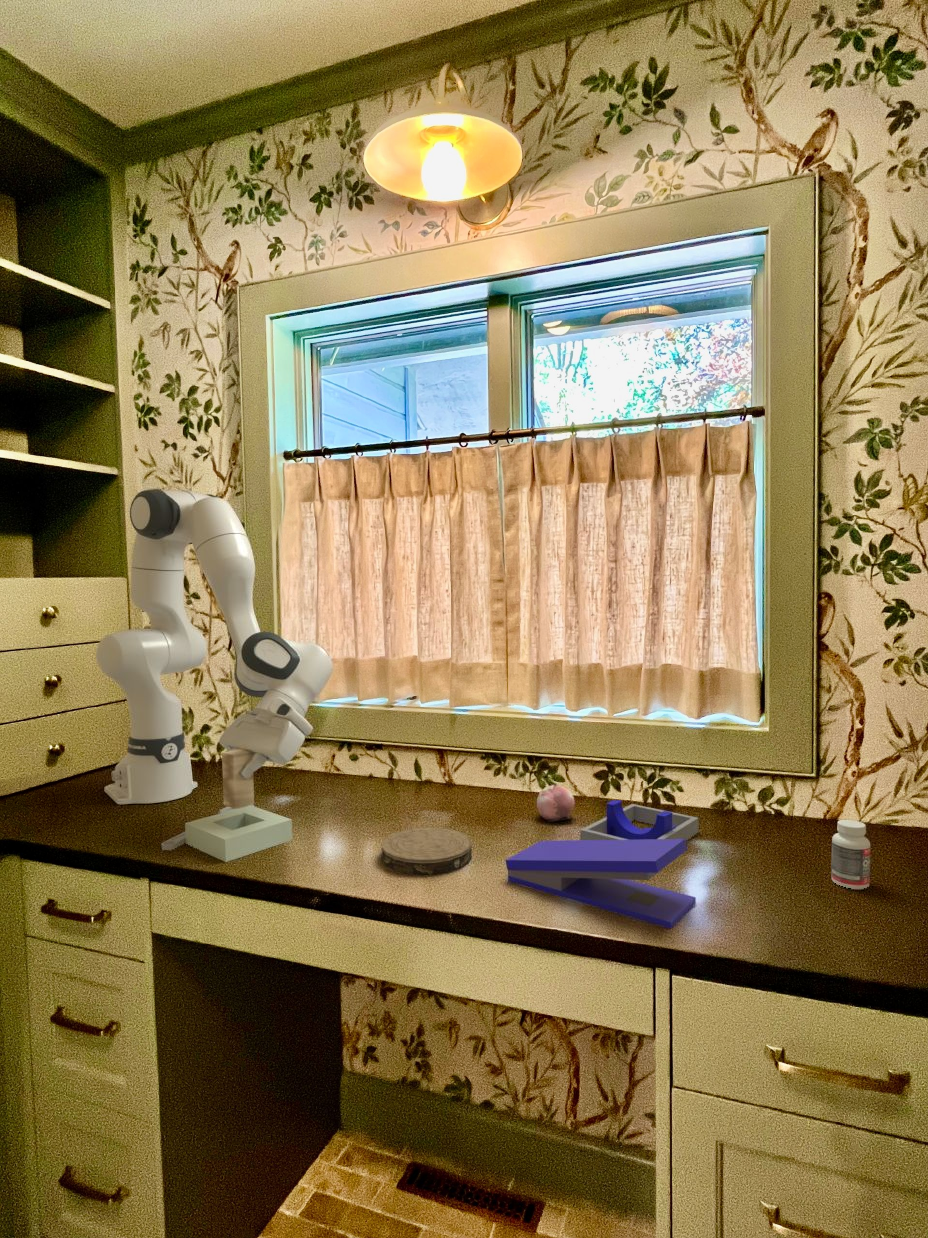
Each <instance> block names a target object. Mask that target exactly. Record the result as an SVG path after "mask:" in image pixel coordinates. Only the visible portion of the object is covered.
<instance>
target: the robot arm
mask: <svg viewBox="0 0 928 1238" xmlns="http://www.w3.org/2000/svg"><path fill="white" fill-rule="evenodd" d="M131 501H132V502H131V503H130V508H129V519H130V522H131V525H132V527H133V529H134V531H135V532H136V533H135V538H134V543H133V549H132V554H131V555H132V556H131V567H130V569H131V570H130V573H131V574H130V592H129V594H130V599H131V602H132V604H133V605H134V606H135V607H136V608H137V609H139V610H140V611H142V612H144V613H146V614H147V615H148V618H149V622H150V626H149V627H150V628H138V629H137V628H136V629H134V628H133V629H125V630H121V631H120V630H119V631H118V632H117V631H116V632H113V633H110V634H107V635H105V636H103V637H102V639H100V641H99V643H98V645H97V648H96V650H95V651H96V652H95V658H96V663H97V666H98V667H99V669H100V670H101V672H102V673H103V674H104V675H105V676H107V677H108V678H110V679H111V680H113V682H115V683H116V684H117V685H118V686H119V688H120V689H121V691H122V692H123V694H124V696H125V698H126V701H127V705H128V712H129V725H130V736H129V737H127V739H128V740H127V748H126V752H127V753H126V754H125V756H124V757H122V759H121V760H120V761H119V762H118V763H117V764H116V765H115V766H114V767H115V768H114V770H112V771H111V775H110V776H111V781H114V783H110V784H108V785H106V786H104V792H105V793H106V794H107V795H108V796H109V797H110V798H111V799H112V800H113V801H114V802H115V803H116V804H117V805H128V804H129V805H130V804H155V803H165V802H170V801H173V800H178V799H180V798H184V797H186V796H188V795H190V794H191V793H192V791H193V790H194V789H195V788H197V787H199V786H198V782H197V781H193V771H192V764H191V762H192V761H191V755H190V753H188V751H186V750H185V748H186V737H185V732H184V731H183V705H182V702H181V700H180V698H179V697H178V696H177V695H176V694H175V693H173V692H171V691H168V690H166V689H165V688H164V686H163V684H162V680H161V675H163V676H164V675H170V674H177V673H184V672H187V671H189V670H192V669H194V668H197V667H200V666H201V665H202V664H203V663H204V662H205V660H206V657H207V653H208V644H207V640H206V638H205V636H204V635H203V633H202V632H201V631H200V630H199V629H197V628H196V627H195V626H194V625H193V624H192V622H191V620H190V619H189V616H188V614H187V611H186V608H185V600H184V576H185V574H184V573H185V550H186V548H187V547H188V545H189V544H192V547H193V550H194V553H195V555H196V558H197V561H198V564H199V566H200V569H201V570H202V572H203V574H204V577H205V579H206V581H207V583H208V585H209V587H210V589H211V591H212V593H213V595H214V598H215V600H216V602H217V605H218V606H219V608H220V610H221V613H222V616H223V618H224V622H225V625H226V628H227V631H228V634H229V637H230V640H231V643H232V646H233V649H234V653H235V665H234V680H235V684H236V685H237V688H238V689H239V690H240V691H241V692H243V693H244V694H246V695H248V696H250V697H252V698H253V697H254V698H261V699H260V701H259V702H258V703H257V705H256V706H255V707H254V708H253V709H252V710H249V711H248V712H247V713H242V714H240V715H238V716H237V717H236V718H235V719H234V720H233V722H231V723H230V725H229V726H228V727H227V728H226V729H225V731H223V733H222V734H221V736H220V737H219V742H218V743H219V744H220V746H222V747H223V748H224V749H226V751H231V750H236V749H244V750H248V751H252V752H253V757H252V758H253V760H252V761H250V762H249V763H248V764H247V765H246V766H245V765H243V767H242V768H241V770H240V771H239V774H240V775H241V776H242V777H244V778H247V779H249V778H250V776H251V775H252V774H253V775H254V772H256V771H258V769H260V768H261V767H263V766H264V764H265V763H267V762H270V763H273V764H274V763H275V764H278V765H281V766H284V765H286V764H287V763H290V761H292V759H293V758H294V757H295V756H296V754H297V752H298V751H299V749H300V748H301V747H302V745H304V742H305V739H306V737H308V736H309V735H311V733H312V732H313V730H314V727H313V725H311V724H310V722H309V721H308V720H307V719H306V718H305V716H306V714H307V712H308V709H309V706H310V705H311V704H312V703H313V702H314V701H315V700H316V699H317V698H318V697H319V695H320V694H321V693H322V691H323V690H324V688H325V687H326V685H327V683H328V681H329V679H330V678H331V677H332V673H333V670H334V664H333V660H332V658H331V656H330V655H329V654H328V652H327V650H325V649H324V648H323V647H322V646H320V645H319V644H317V643H315V642H312V641H309V642H300V641H295V640H290V639H287V638H283V637H281V636H280V635H278V634H277V633H274V632H271V631H261V629H260V626H259V623H258V620H257V617H256V614H255V609H254V603H253V602H254V601H253V593H254V584H255V575H256V564H255V558H254V553H253V552H254V551H253V550H252V549H253V548H252V545H251V543H250V540H249V537H248V535H247V532H246V530H245V528H244V526H243V524H242V522H241V520H240V519H239V517H238V515H237V513H236V512H235V510H234V508H233V507H232V506H231V504H230V503H229V502H228V501H227V500H226V499H223V498H221V497H219V496H216V495H213V494H208V493H207V494H205V493H201V492H197V491H191V490H169V489H167V490H164V489H163V490H161V489H159V488H155V489H154V488H153V489H145V490H142V491H141V490H140V491H139V492H138V493H137V494H136V495H135V496H134V498H133V500H131Z"/></svg>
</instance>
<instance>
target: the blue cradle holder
mask: <svg viewBox="0 0 928 1238" xmlns="http://www.w3.org/2000/svg"><path fill="white" fill-rule="evenodd" d="M622 802H623V800H618V799H614V800H611V801H609V802H607V803H606V817H607V834H608V835H612V836H616V837H620V838H624V839H628V840H642V839H658V838H659V837H661V836H663V835H664V834H666V833H668V832H669V831H671V830H673V829H675V828H676V827H675V826H672V812H673V811H668V812H667V810H664V811H663V812H661V813H659V814H657V818H656V823H655V825H653V827H645V828H643V829H642V828H639V827H637V826H635V825H634V824H633V822H630V821H629V820H628V819H627V817H626V816H625V814H624V811H623V808H624V807H623V803H622Z"/></svg>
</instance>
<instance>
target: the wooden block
mask: <svg viewBox="0 0 928 1238" xmlns="http://www.w3.org/2000/svg"><path fill="white" fill-rule="evenodd" d="M252 757H253V752H252V751H248V750H244V749H236V750H231V751H228V750H226V751H222V752H221V758H222V759H221V761H222V763H221V764H222V766H221V767H222V791H223V793H222V796H223V806H225V807H231V808H234V809H236V808H237V809H238V808H242V807H246V806H249V805H251V804H253V805H255V790H254V788H255V786H254V773H253V774H252V775H251V776H250V778H249V779H247V778H244V777H242V776H241V775H240V774H239V771H240V770H241V768H242V767H243V765H245V766H246V765H247V764H248V763H249V762H250V761H252V760H253V758H252Z"/></svg>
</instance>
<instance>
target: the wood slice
mask: <svg viewBox="0 0 928 1238" xmlns="http://www.w3.org/2000/svg"><path fill="white" fill-rule="evenodd" d="M472 850H473V848H472V841H471V837H469V836H468V835H467V834H465V833H464V832H461V831H458V830H454V829H449V828H443V827H418V828H410V829H406V830H402V831H397V832H395V833H392V834H391V835H389V836H387V837H386V838H385V839H383V841H382V846H381V856H382V857H381V862H382V863H383V865H384V866H385V867H386V868H387V869H389V870H391V871H393V872H395V873H399V874H401V875H408V876H418V877H424V876H426V877H427V876H429V877H430V876H440V875H446V874H450V873H453V872H457V871H460V870H461V869H463V868H465V867H466V866H469V864H470V863H471V861H472V859H473V858H472V857H473V856H472V854H473V851H472Z"/></svg>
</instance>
